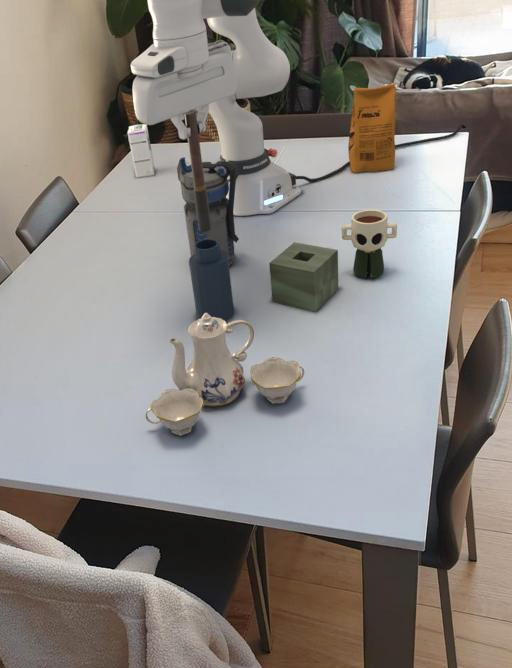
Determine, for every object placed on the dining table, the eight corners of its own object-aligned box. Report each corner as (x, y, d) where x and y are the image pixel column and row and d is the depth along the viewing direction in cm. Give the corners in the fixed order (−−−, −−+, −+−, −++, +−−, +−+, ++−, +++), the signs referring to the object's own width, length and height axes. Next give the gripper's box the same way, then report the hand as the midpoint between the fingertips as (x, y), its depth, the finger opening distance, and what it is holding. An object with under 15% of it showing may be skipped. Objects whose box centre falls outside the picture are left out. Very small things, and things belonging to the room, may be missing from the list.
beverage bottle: (235, 276, 159) (224, 168, 145) (182, 271, 165) (166, 167, 151) (251, 255, 166) (242, 150, 152) (199, 251, 172) (186, 150, 158)
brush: (203, 225, 138) (188, 110, 125) (213, 227, 136) (199, 111, 124) (196, 230, 136) (180, 114, 124) (206, 232, 135) (191, 115, 122)
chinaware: (167, 464, 114) (155, 387, 104) (129, 402, 126) (115, 328, 116) (317, 403, 121) (320, 326, 111) (267, 350, 133) (266, 275, 123)
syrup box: (154, 175, 220) (146, 128, 212) (135, 178, 220) (127, 131, 212) (155, 169, 225) (147, 122, 216) (136, 171, 225) (128, 125, 217)
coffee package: (348, 162, 205) (347, 83, 193) (393, 158, 203) (395, 78, 190) (349, 175, 198) (348, 93, 185) (395, 171, 195) (398, 88, 182)
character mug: (341, 281, 150) (341, 224, 143) (342, 265, 156) (342, 210, 149) (395, 280, 148) (398, 222, 140) (394, 264, 153) (396, 207, 146)
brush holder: (296, 279, 154) (294, 241, 149) (338, 288, 148) (337, 249, 143) (272, 301, 148) (269, 263, 143) (315, 311, 142) (314, 272, 137)
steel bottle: (217, 301, 151) (208, 232, 142) (241, 313, 146) (234, 242, 137) (189, 315, 148) (179, 246, 139) (213, 328, 143) (203, 256, 134)
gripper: (217, 36, 125) (225, 115, 133) (122, 66, 116) (136, 149, 124) (241, 38, 121) (248, 120, 128) (144, 69, 112) (158, 156, 119)
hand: (192, 135), depth 126 cm, fingers closed on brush, 2 cm apart
